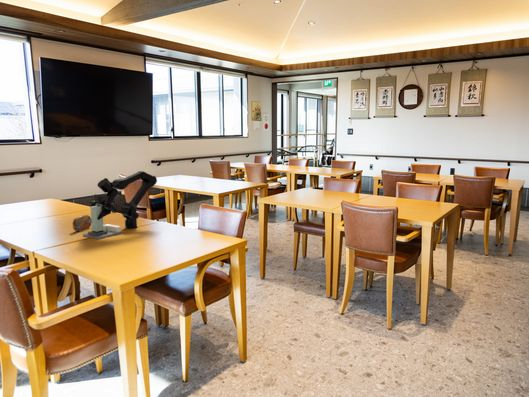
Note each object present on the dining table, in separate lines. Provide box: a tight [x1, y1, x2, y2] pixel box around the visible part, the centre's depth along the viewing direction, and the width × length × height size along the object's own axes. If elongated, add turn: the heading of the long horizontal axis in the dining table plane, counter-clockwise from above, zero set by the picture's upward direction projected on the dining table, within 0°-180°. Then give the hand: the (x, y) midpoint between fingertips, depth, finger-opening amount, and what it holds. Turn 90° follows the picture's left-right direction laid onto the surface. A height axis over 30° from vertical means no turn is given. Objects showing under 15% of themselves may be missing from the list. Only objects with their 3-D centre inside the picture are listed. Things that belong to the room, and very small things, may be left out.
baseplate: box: [82, 223, 125, 240], centre depth 235 cm, size 18×14×4 cm
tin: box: [72, 214, 92, 232], centre depth 245 cm, size 15×3×8 cm, turn 168°
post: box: [89, 206, 104, 232], centre depth 231 cm, size 4×4×14 cm
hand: (95, 218), depth 230 cm, fingers closed on post, 4 cm apart
